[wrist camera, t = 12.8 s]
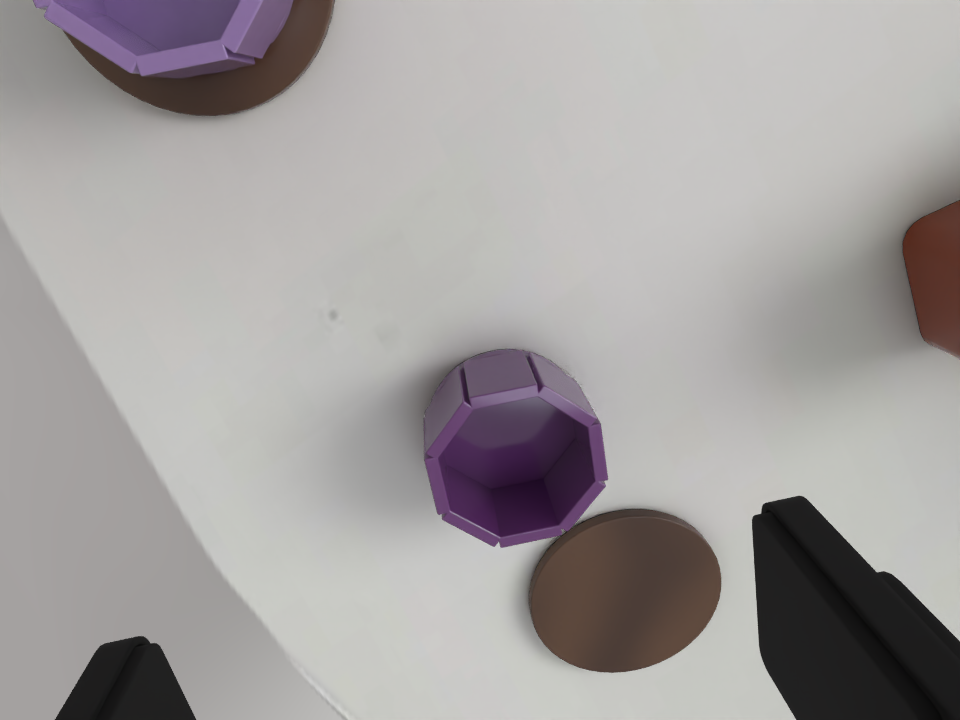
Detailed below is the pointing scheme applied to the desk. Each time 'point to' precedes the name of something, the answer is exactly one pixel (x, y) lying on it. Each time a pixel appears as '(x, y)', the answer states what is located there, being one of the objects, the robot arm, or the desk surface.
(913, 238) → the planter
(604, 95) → the desk surface
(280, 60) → the coaster near
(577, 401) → the dish plum
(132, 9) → the dish lilac
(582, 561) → the coaster far
